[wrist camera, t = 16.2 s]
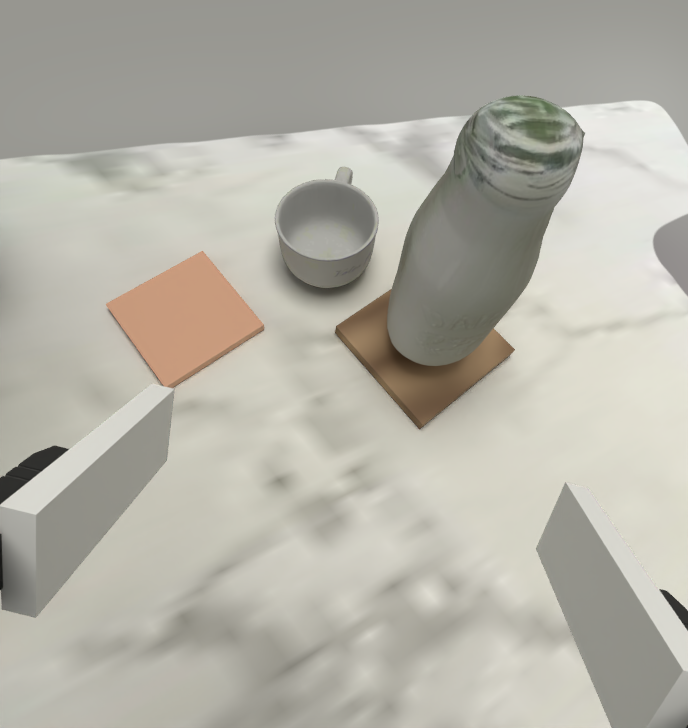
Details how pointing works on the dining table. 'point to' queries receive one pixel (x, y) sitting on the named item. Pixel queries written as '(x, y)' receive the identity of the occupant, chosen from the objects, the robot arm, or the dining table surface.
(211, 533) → the dining table surface
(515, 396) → the dining table surface
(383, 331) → the walnut board
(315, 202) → the teacup
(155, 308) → the terracotta tile
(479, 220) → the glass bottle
